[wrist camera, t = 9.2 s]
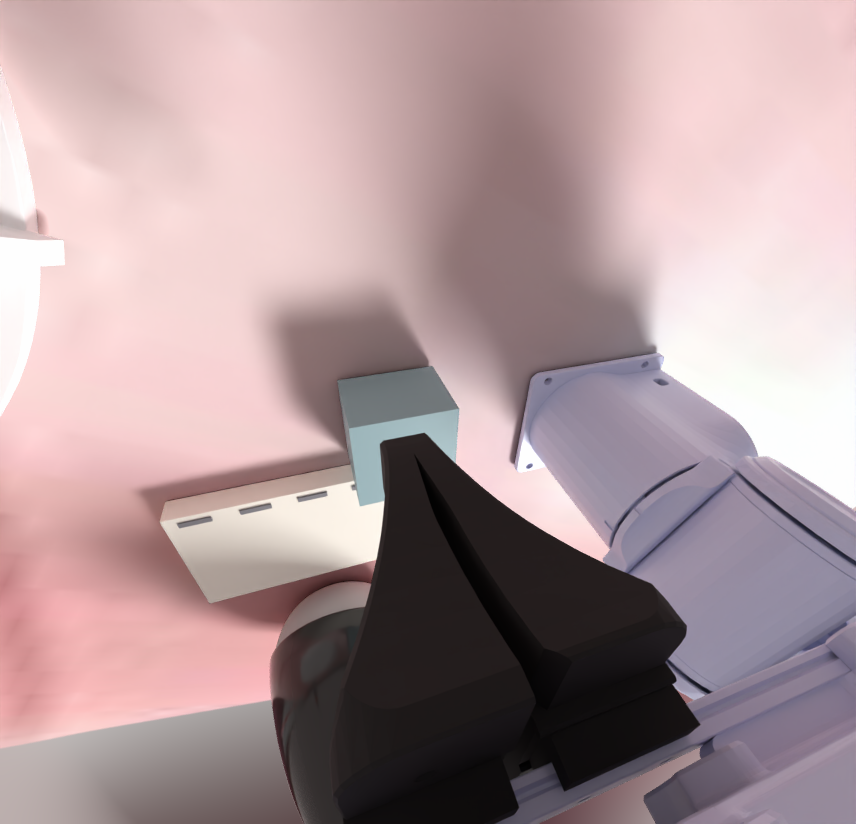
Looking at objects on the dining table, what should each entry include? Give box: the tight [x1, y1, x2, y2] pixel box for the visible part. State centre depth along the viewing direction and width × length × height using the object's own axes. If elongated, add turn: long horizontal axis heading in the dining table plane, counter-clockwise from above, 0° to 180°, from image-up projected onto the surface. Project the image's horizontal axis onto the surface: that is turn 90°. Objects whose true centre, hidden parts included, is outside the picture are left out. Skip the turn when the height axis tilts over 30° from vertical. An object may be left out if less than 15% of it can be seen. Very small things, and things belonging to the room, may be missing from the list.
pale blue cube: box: [337, 366, 459, 506], centre depth 21 cm, size 5×5×4 cm
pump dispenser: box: [270, 581, 371, 824], centre depth 26 cm, size 10×10×15 cm
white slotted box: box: [160, 464, 384, 603], centre depth 25 cm, size 15×8×2 cm, turn 89°
